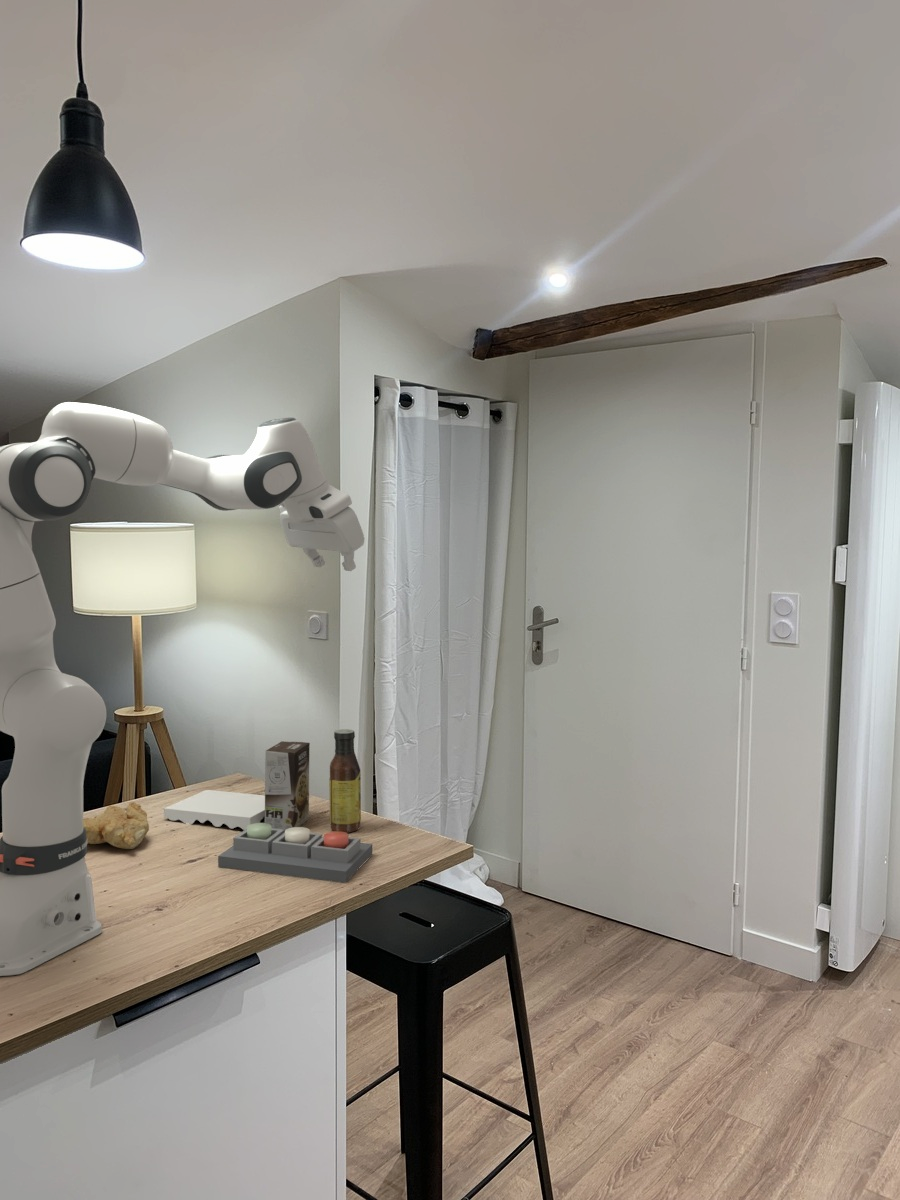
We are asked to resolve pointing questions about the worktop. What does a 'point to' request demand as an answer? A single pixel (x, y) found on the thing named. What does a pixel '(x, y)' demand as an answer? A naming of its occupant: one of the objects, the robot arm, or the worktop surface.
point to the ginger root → (118, 826)
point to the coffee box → (287, 785)
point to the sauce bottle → (345, 784)
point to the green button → (259, 831)
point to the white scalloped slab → (219, 809)
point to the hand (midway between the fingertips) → (335, 567)
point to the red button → (336, 839)
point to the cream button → (297, 835)
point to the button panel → (296, 856)
